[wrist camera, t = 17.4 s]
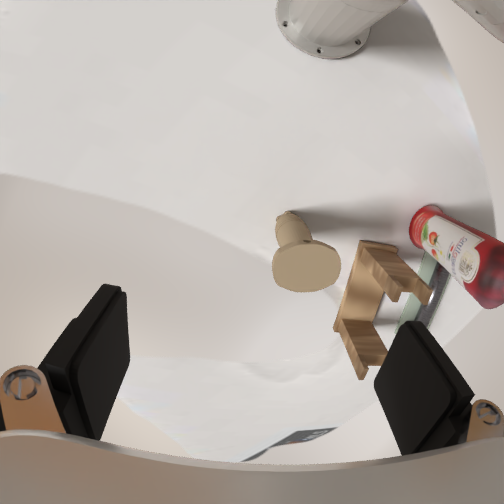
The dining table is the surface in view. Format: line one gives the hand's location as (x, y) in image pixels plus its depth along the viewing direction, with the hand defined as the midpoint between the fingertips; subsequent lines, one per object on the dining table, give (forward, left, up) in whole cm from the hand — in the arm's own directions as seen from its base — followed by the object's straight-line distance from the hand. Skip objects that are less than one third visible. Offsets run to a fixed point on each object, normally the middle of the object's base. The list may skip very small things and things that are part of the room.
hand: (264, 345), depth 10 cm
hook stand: (+14, +20, -33) cm, 41 cm away
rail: (+14, +33, -32) cm, 47 cm away
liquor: (+2, +27, -34) cm, 43 cm away
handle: (+5, +6, -34) cm, 34 cm away
